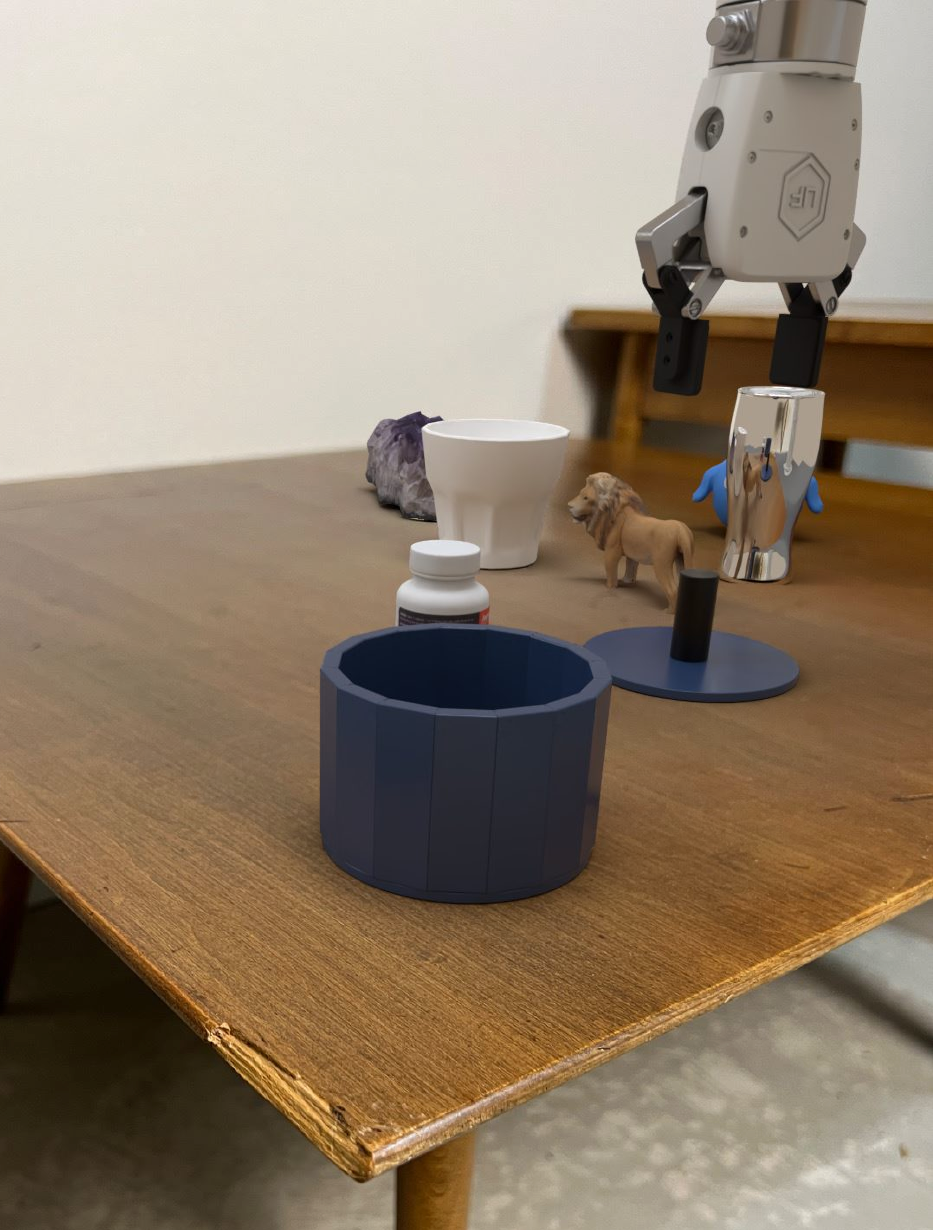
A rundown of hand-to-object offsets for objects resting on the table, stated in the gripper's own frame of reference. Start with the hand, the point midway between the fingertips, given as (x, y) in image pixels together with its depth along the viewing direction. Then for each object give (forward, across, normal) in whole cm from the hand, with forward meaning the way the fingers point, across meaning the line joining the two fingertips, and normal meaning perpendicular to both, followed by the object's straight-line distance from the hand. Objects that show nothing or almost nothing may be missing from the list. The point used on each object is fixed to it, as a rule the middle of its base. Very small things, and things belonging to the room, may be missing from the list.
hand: (735, 389), depth 71 cm
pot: (+18, -27, -11) cm, 34 cm away
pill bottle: (+18, -18, +4) cm, 26 cm away
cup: (+18, +8, +32) cm, 37 cm away
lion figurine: (+18, +10, +16) cm, 26 cm away
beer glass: (+18, +23, +16) cm, 33 cm away
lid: (+17, 0, +1) cm, 17 cm away
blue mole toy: (+18, +34, +26) cm, 47 cm away
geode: (+18, +17, +55) cm, 60 cm away
